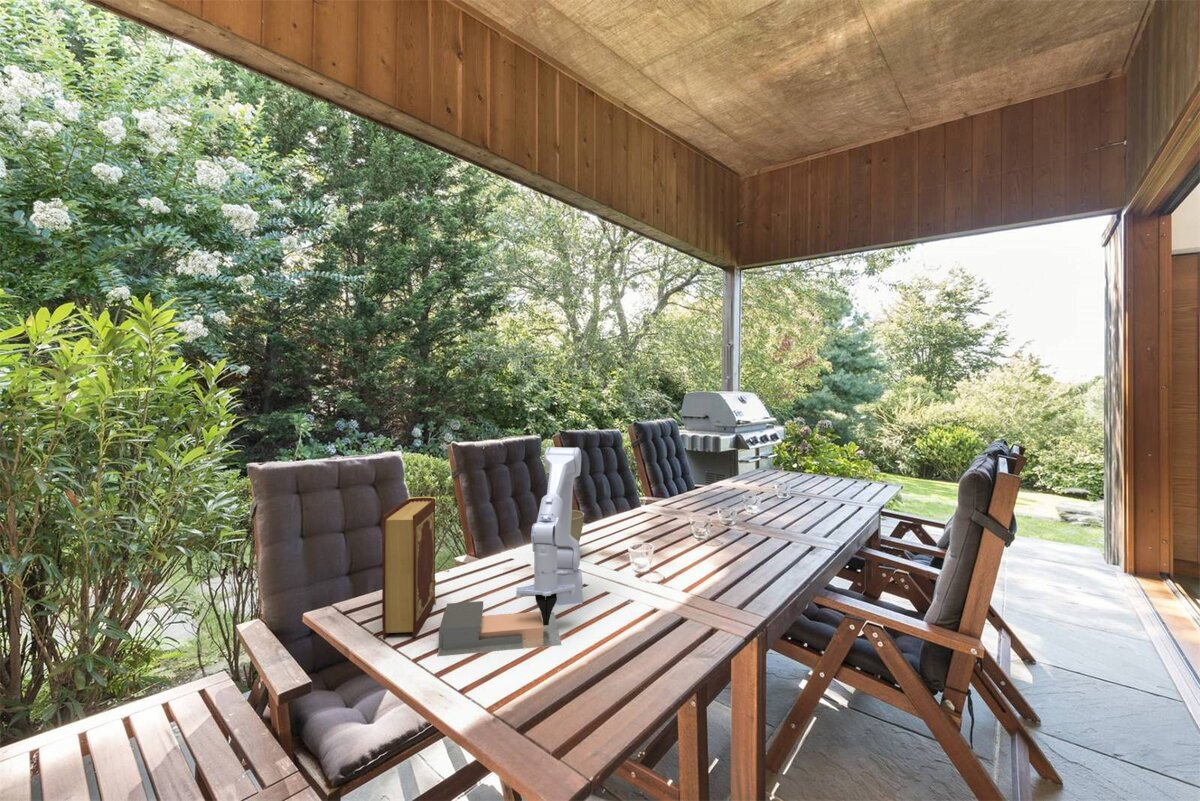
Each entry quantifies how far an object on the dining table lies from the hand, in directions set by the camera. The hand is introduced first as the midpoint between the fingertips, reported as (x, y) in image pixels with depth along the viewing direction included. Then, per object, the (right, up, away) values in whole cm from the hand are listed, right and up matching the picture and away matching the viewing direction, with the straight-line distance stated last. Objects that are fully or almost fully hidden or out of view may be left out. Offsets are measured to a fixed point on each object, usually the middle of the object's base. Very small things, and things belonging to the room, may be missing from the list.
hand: (545, 623), depth 125 cm
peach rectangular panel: (-9, -1, -2) cm, 9 cm away
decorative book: (-36, -2, +6) cm, 36 cm away
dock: (-11, -2, -2) cm, 11 cm away
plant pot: (0, -2, +56) cm, 56 cm away
